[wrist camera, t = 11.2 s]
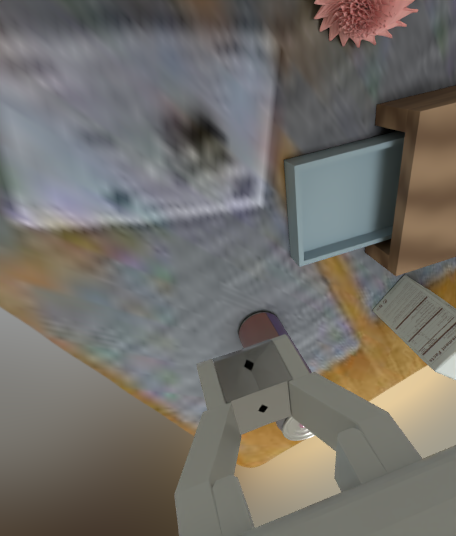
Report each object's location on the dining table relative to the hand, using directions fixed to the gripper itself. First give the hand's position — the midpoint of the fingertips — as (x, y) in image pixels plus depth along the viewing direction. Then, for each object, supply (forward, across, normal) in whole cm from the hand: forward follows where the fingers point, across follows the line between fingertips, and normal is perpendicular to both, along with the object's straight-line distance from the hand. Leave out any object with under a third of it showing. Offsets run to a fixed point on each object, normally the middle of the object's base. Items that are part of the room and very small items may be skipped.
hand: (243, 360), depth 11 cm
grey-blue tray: (+25, -22, +10) cm, 34 cm away
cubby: (+25, -28, +10) cm, 39 cm away
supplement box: (+24, -29, +30) cm, 48 cm away
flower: (+26, -19, -8) cm, 33 cm away
